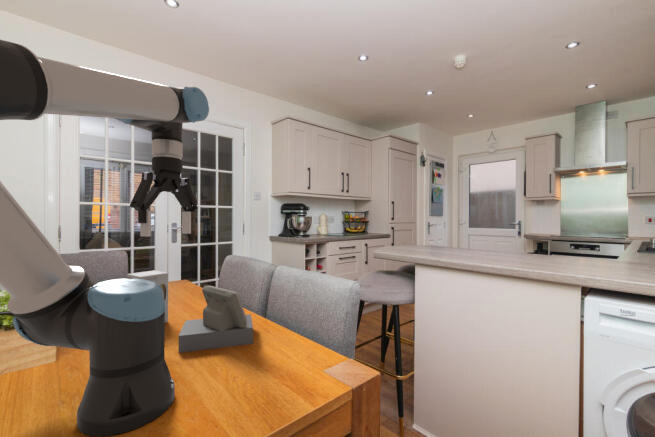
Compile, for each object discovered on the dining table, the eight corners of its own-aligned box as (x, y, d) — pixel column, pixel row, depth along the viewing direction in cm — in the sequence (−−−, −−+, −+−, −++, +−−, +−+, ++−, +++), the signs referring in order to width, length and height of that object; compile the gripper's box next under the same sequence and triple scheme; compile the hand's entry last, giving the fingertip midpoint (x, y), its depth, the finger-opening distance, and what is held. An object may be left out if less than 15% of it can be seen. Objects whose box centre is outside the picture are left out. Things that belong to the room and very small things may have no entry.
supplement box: (138, 330, 93) (138, 277, 93) (125, 324, 99) (125, 273, 98) (169, 321, 101) (169, 272, 101) (155, 316, 106) (155, 269, 106)
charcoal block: (253, 345, 84) (252, 327, 84) (178, 354, 79) (178, 335, 78) (250, 329, 96) (250, 314, 96) (185, 336, 90) (185, 320, 90)
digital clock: (250, 328, 83) (249, 290, 83) (217, 337, 78) (217, 296, 77) (227, 314, 96) (226, 280, 96) (197, 320, 90) (197, 285, 90)
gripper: (190, 166, 96) (190, 232, 96) (112, 149, 72) (112, 237, 72) (209, 164, 93) (209, 232, 93) (135, 147, 70) (136, 238, 70)
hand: (167, 234), depth 83 cm, fingers open, 13 cm apart
